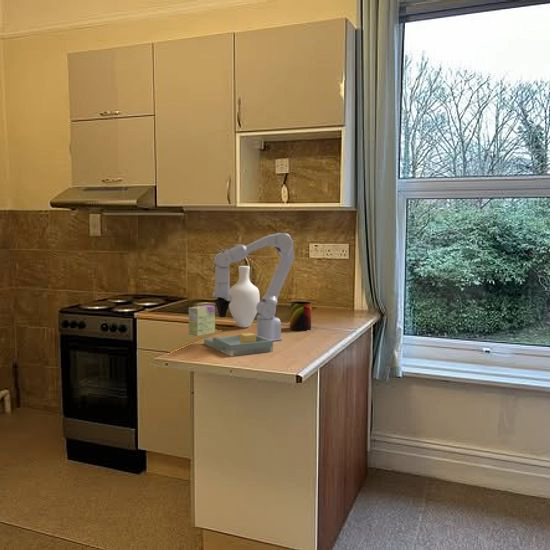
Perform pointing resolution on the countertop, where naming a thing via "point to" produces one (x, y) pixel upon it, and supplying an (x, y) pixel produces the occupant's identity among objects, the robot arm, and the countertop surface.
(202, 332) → the box
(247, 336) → the ochre block
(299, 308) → the mug
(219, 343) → the trap tray
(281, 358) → the countertop surface
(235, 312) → the vase
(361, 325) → the countertop surface
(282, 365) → the countertop surface
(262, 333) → the robot arm
